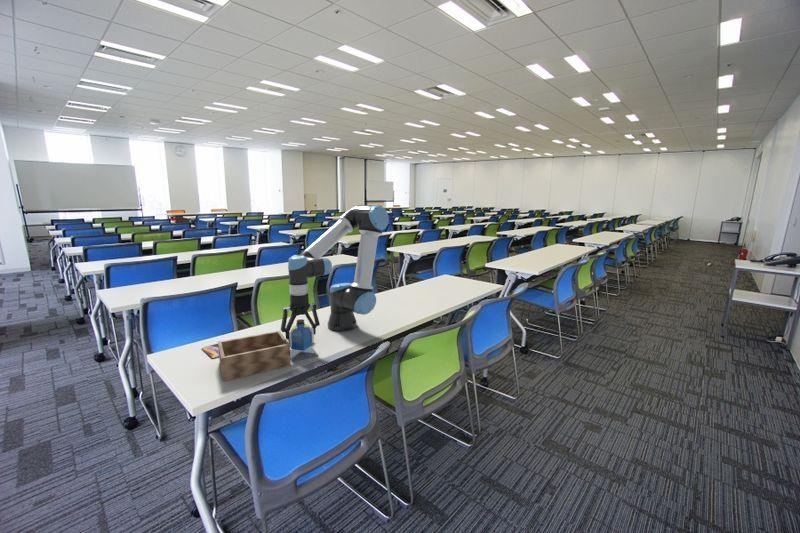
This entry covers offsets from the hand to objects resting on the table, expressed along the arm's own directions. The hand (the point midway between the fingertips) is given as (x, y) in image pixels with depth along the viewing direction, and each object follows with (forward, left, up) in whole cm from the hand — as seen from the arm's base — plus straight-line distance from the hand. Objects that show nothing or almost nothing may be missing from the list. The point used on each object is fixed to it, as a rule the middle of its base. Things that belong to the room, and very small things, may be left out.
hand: (301, 343), depth 148 cm
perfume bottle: (0, 0, -2) cm, 2 cm away
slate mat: (0, 0, -5) cm, 5 cm away
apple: (-4, -15, -5) cm, 16 cm away
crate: (+19, -1, -5) cm, 20 cm away
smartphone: (+32, -22, -5) cm, 39 cm away
